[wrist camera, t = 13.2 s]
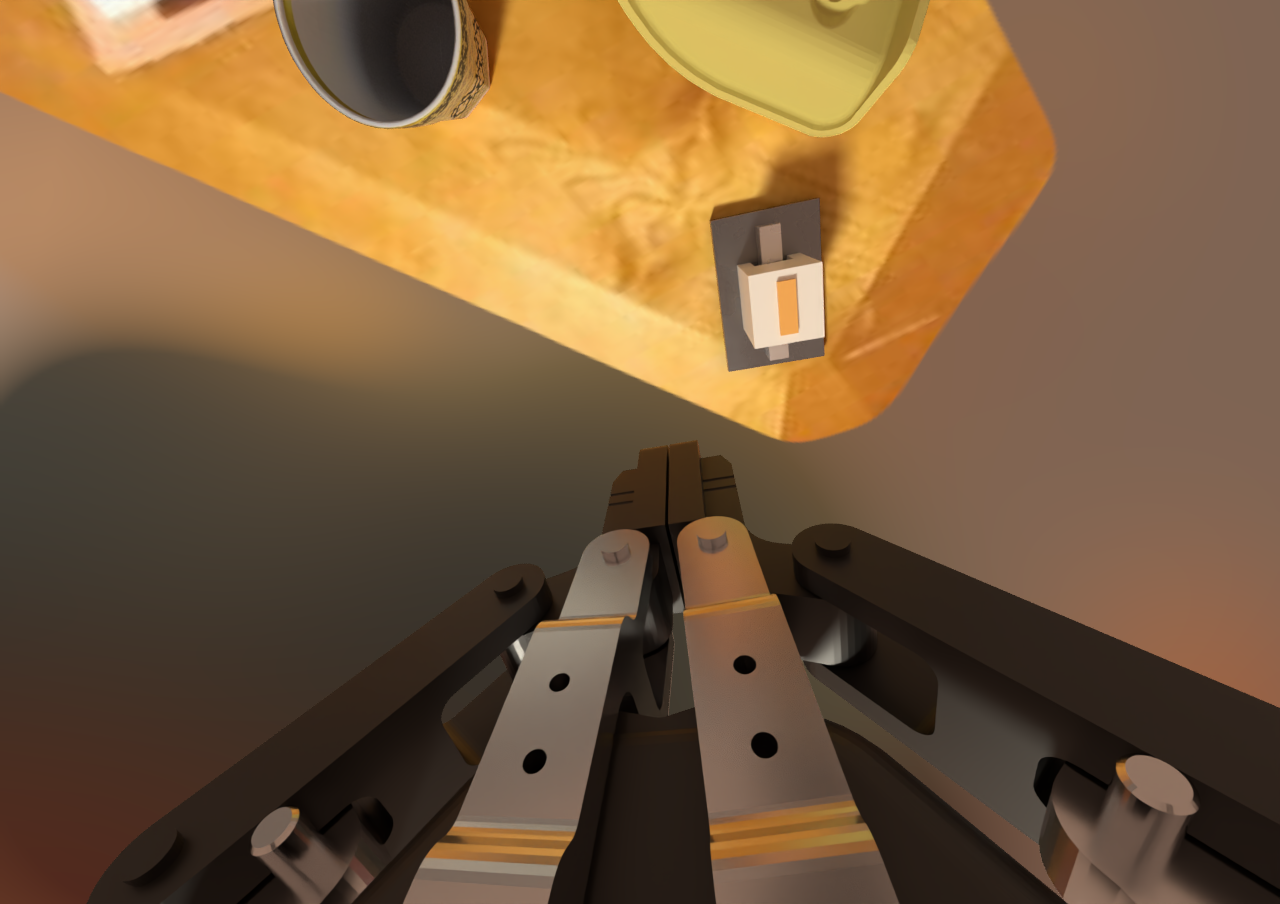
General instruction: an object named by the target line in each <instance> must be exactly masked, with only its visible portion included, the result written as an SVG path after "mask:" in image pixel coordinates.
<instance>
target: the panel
mask: <svg viewBox="0 0 1280 904" xmlns="http://www.w3.org/2000/svg"><path fill="white" fill-rule="evenodd" d="M710 227H711V236H712V244H713V252H714V260H715V268H716V277H717V285H718V293H719V301H720V310H721V318H722V326H723V334H724V343H725V351H726V359H727V367H728V371H729V372H730V371H736V370H742V369H748V368H754V367H760V366H766V365H772V364H778V363H784V362H790V361H796V360H802V359H808V358H814V357H820V356H824V337H822V338H816V339H810V340H805V341H799V342H793V343H787V344H782V345H776V346H770V347H764V348H758V349H755V348H754V346H753V345H752V343H751V341H750V339H749V337H748V336H747V334H746V332H745V330H744V328H743V319H742V309H741V299H740V290H739V280H738V270H737V265H740V264H745V263H751V264H752V265H754V266H759V265H764V264H769V263H774V262H779V261H784V260H787V255H791V254H796V253H802V254H804V255H807V256H809V257H812V258H814V259H817V260H819V261H821V233H820V201H819V198H814V199H810V200H805V201H800V202H796V203H791V204H786V205H781V206H777V207H772V208H767V209H763V210H758V211H753V212H748V213H744V214H739V215H734V216H730V217H725V218H720V219H716V220H711V221H710Z"/></svg>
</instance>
